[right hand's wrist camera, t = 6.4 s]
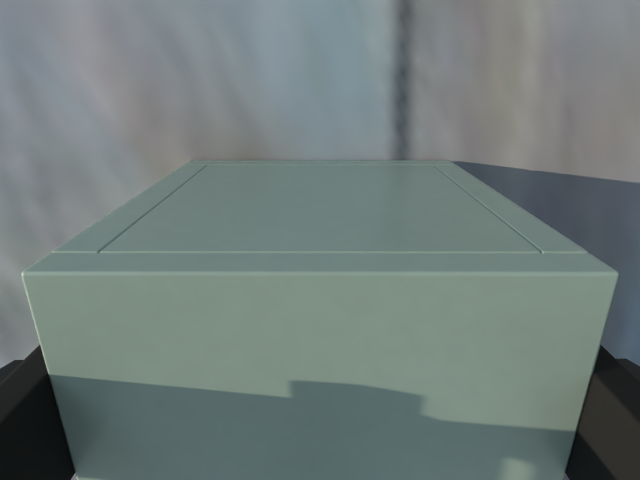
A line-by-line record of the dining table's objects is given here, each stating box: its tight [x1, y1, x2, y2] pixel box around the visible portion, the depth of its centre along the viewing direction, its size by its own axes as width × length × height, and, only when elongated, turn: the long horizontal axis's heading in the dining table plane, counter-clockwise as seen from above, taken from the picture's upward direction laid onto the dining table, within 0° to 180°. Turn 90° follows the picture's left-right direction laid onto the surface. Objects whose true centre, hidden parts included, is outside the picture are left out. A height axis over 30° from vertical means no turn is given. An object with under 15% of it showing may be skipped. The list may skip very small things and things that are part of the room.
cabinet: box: [21, 160, 619, 480], centre depth 17 cm, size 21×11×11 cm, turn 0°
